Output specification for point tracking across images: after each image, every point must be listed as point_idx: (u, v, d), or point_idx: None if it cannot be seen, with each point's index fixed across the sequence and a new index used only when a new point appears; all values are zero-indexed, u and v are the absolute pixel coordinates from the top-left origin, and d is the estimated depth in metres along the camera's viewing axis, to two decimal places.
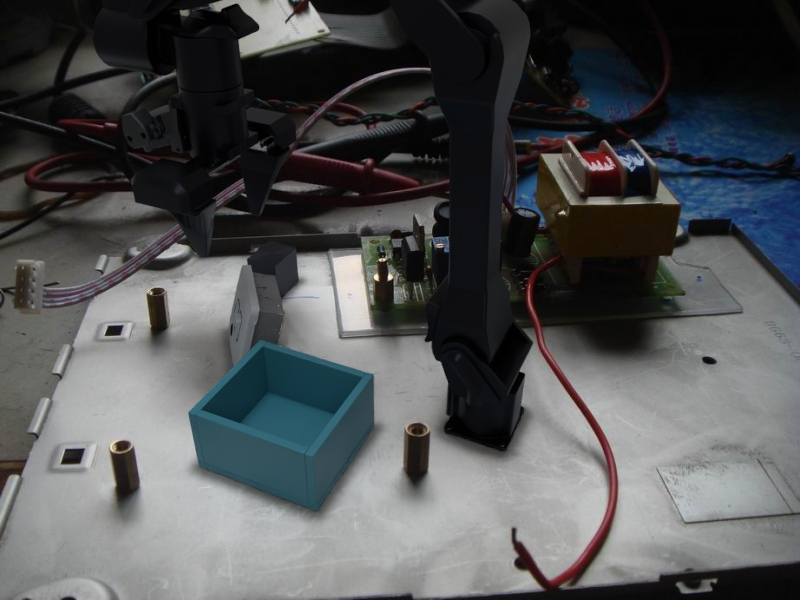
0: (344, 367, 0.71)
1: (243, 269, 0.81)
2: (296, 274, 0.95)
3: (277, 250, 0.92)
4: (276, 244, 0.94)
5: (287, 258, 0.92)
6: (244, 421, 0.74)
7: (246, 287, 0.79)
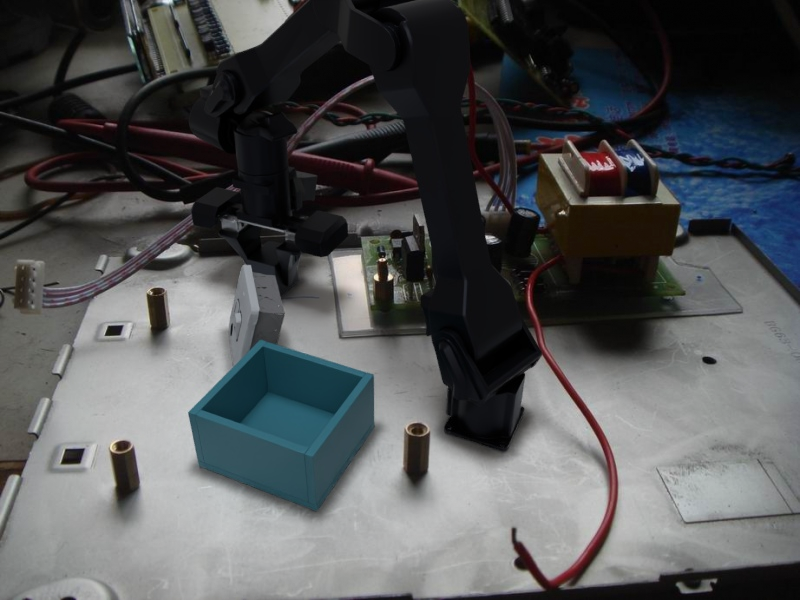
0: (344, 367, 0.71)
1: (243, 269, 0.81)
2: (296, 274, 0.95)
3: None
4: (276, 244, 0.94)
5: None
6: (244, 421, 0.74)
7: (246, 287, 0.79)
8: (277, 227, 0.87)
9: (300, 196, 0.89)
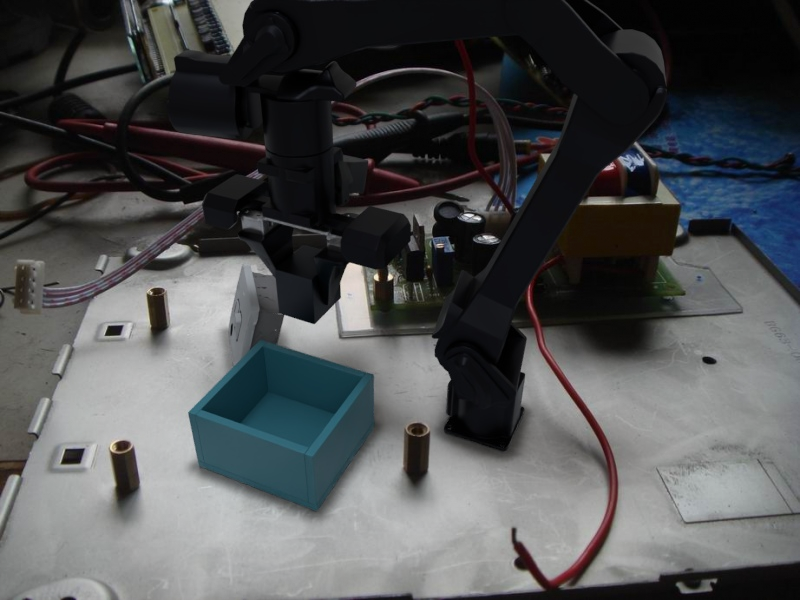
0: (344, 367, 0.71)
1: (243, 269, 0.81)
2: (338, 289, 0.72)
3: None
4: (313, 250, 0.71)
5: None
6: (244, 421, 0.74)
7: (246, 287, 0.79)
8: (317, 228, 0.65)
9: (346, 187, 0.67)
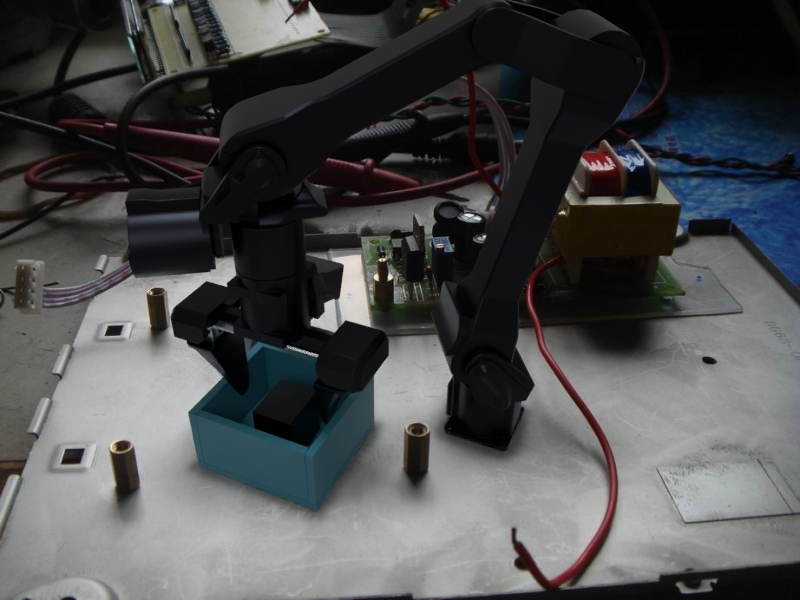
0: None
1: None
2: (317, 422, 0.72)
3: (292, 395, 0.69)
4: (291, 385, 0.71)
5: (306, 408, 0.69)
6: (244, 421, 0.74)
7: None
8: None
9: (321, 300, 0.64)
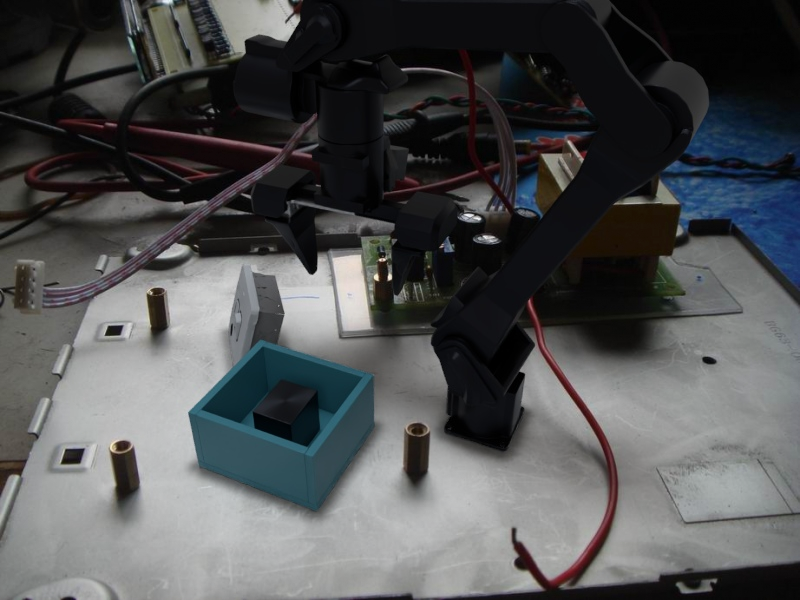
0: (344, 367, 0.71)
1: (243, 269, 0.81)
2: (317, 422, 0.72)
3: (292, 395, 0.69)
4: (291, 385, 0.71)
5: (306, 408, 0.69)
6: (244, 421, 0.74)
7: (246, 287, 0.79)
8: None
9: (393, 174, 0.69)
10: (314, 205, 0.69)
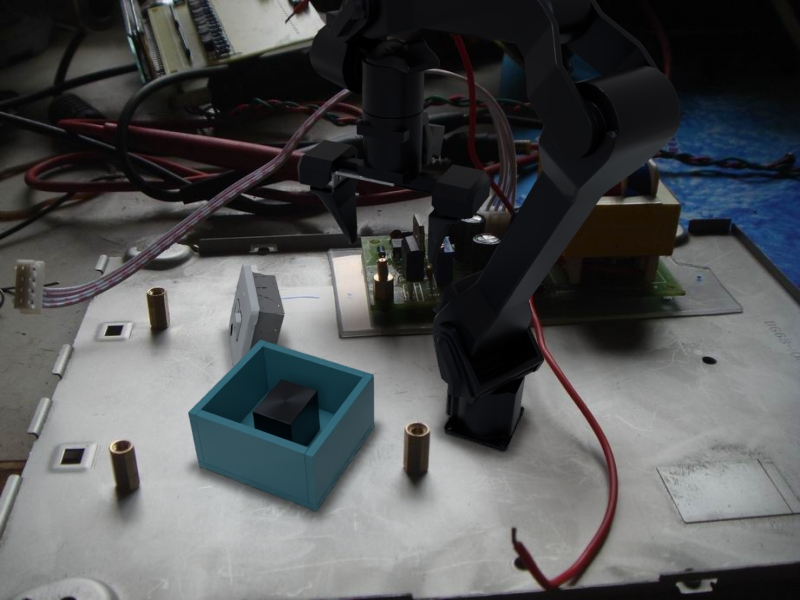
0: (344, 367, 0.71)
1: (243, 269, 0.81)
2: (317, 422, 0.72)
3: (292, 395, 0.69)
4: (291, 385, 0.71)
5: (306, 408, 0.69)
6: (244, 421, 0.74)
7: (246, 287, 0.79)
8: (384, 180, 0.73)
9: (430, 149, 0.74)
10: (356, 176, 0.74)
